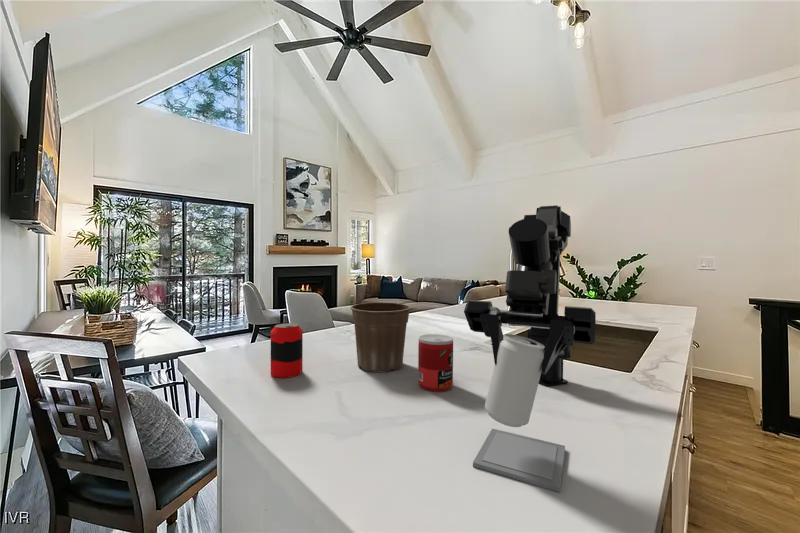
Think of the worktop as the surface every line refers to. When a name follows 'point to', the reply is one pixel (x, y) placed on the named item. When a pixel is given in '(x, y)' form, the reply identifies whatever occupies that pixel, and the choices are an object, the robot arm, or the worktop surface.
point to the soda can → (286, 350)
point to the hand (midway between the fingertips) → (519, 369)
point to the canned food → (435, 362)
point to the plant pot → (380, 335)
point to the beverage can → (515, 380)
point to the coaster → (522, 459)
